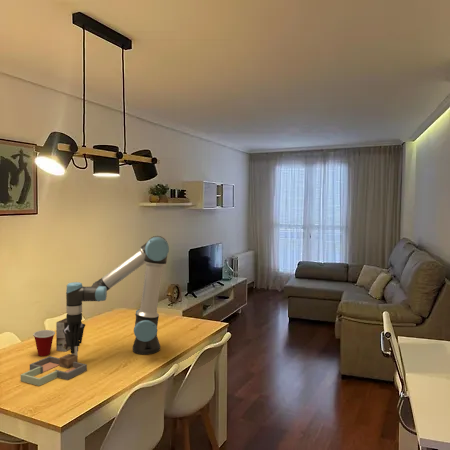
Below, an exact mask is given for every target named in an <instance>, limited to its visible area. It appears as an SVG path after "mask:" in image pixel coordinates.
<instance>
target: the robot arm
mask: <svg viewBox="0 0 450 450" xmlns="http://www.w3.org/2000/svg"><path fill="white" fill-rule="evenodd" d="M169 251H170V245H169V243H168V241H167V239H166V238H165V237H163V236H162V235H161V236H160V235H155V236H151V237H150V238H149V239H148V240H147V241H146V242H145V243H144V244H143V245H141V246H140V248H139V250H137V251H136V252H135V253H134V254H132V255H131V256H130V257H128V258H127V259H126V260H124V261H122V262H121V263H119V265H117V266H116V267H115V268H113V269H112V270H111V271H109V272H107V273H106V274H105V275H103V276H102V277H101V278H100V279H98V280H96V281H94V282H93V283H92V285H91V286H83V283H82V282H77V281H74V282H68V283H67V285H66V291H65V292H66V293H65V298H66V302H65V303H66V307H65V309H66V310H65V311H66V315H65V316H66V317H65V318H66V321H67V323H68V324H67V328H66V329H63V332H64V334H65V338H66V343H67V346H68V347H71V349H70V354H72V355H76V356H78V352H79V347H80V346H81V344H82V342H83V337H84V332H85V331H84V330H85V327H86V324H85V323H82V320H83V313H82V312H83V302H103V301H106V300H107V297H108V295H107V294H108V291H109V290H111V289H112V288H113V287H114V286H116V285H118V284H119V283H120V282H121V281H123V280H124V279H125V278H127V277H128V276H129V275H131V274H132V273H133V272H135V271H137V270H138V269H139V268H141V267H142V266H143V265H144V264H145V272H144V273H145V274H144V281H143V287H142V295H141V301H140V308H138V309H136V310H135V322H134V323H135V324H134V326H133V334H134V336H135V339H134V342H133V344H132V352H133V353H135V354H138V355H152V354H155V353H158V352H159V351H160V350H161V344H160V341H159V338H158V323H159V316H160V315H159V313H158V303H159V296H160V289H161V284H162V283H161V282H162V274H163V268H164V267H165V266H166V265H167V261H168V255H169ZM78 357H79V356H78Z"/></svg>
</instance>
